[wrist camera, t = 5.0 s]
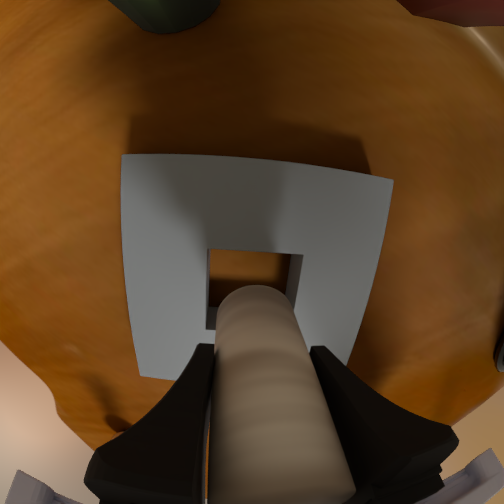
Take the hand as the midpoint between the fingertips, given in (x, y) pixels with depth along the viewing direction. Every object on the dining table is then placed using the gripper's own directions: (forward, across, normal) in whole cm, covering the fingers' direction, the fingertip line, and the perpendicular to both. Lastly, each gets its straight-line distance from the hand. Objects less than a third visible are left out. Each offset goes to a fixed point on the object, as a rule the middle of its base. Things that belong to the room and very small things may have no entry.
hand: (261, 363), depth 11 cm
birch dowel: (+3, 0, 0) cm, 3 cm away
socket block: (+9, 0, 0) cm, 9 cm away
